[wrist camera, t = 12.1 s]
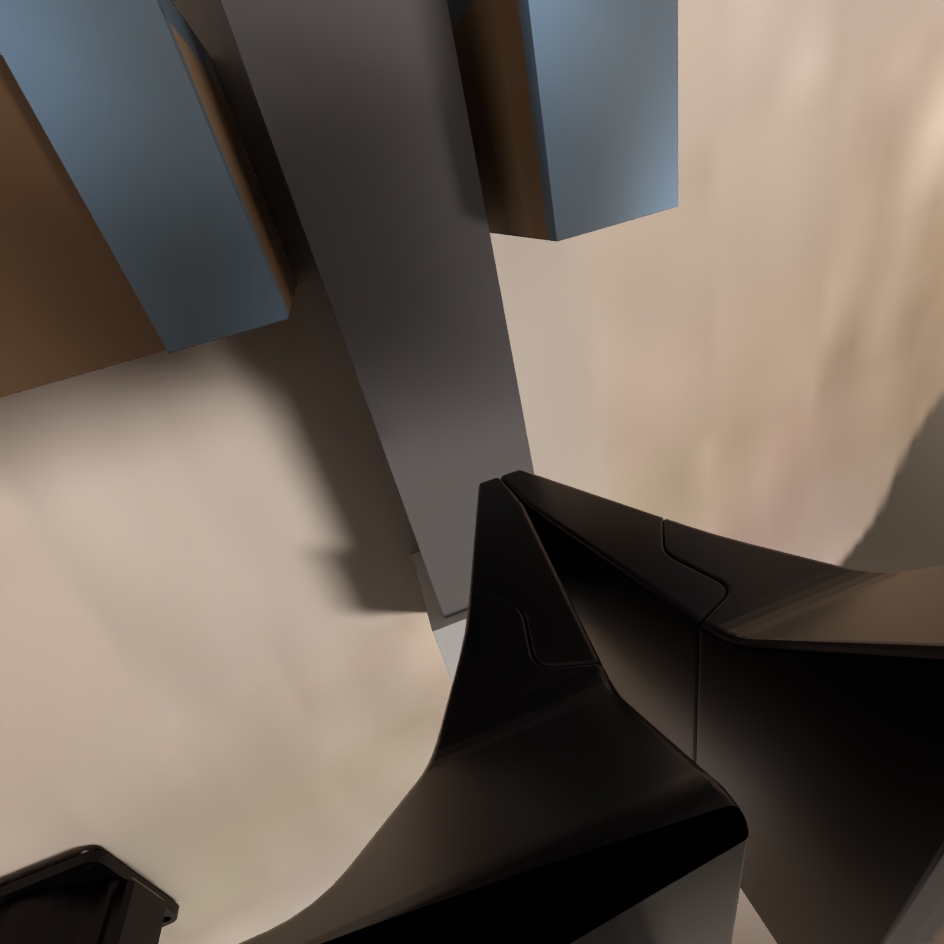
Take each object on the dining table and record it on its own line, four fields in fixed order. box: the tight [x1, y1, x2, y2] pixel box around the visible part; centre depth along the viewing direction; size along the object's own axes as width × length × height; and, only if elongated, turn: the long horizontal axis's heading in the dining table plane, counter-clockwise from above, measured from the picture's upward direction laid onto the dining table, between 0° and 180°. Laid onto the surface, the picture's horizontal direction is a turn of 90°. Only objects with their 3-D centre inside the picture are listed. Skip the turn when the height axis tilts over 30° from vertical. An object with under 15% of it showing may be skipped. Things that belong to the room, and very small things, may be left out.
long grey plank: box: [221, 0, 534, 683], centre depth 13 cm, size 20×4×4 cm, turn 14°
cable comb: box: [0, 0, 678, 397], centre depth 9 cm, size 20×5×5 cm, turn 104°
